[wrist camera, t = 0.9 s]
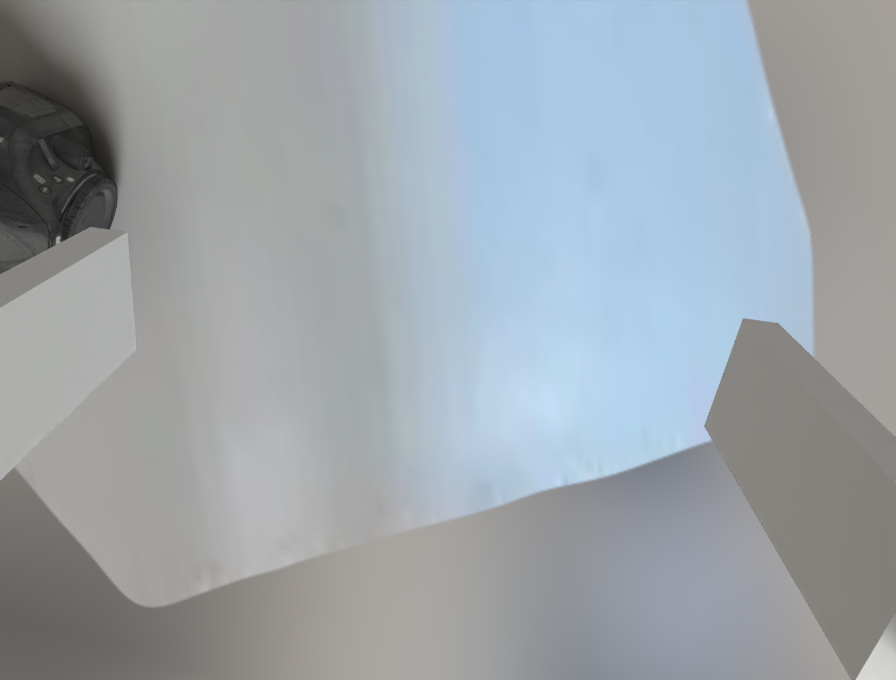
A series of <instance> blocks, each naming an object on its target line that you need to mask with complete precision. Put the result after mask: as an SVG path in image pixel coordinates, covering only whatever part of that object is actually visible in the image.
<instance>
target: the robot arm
mask: <svg viewBox="0 0 896 680" xmlns="http://www.w3.org/2000/svg"><path fill="white" fill-rule="evenodd" d="M135 350H136V337H135V324H134V311H133V298H132V285H131V271H130V258H129V245H128V232H123V231H116V230H109V229H102V228H94V227H90V228H88V229H86V230H84V231H82V232H80V233H78V234H76V235H74V236H72V237H70V238H69V239H67V240H65V241H63V242H61V243H59V244H57V245H55V246H53V247H51V248H50V249H48V250H46V251H44V252H42V253H40V254H38V255H36V256H34V257H32V258H30V259H29V260H27V261H25V262H23V263H21V264H19V265H17V266H15V267H13V268H11V269H10V270H8V271H6V272H4V273H2V274H0V480H1V479H2V478H3V477H4V476H5V475H6V474H7V473H8V472H9V471H10V470H11V469H13V468H14V467H15V466H16V465H17V464H18V463H19V462H20V461H21V460H22V459H23V458H24V457H25V456H26V455H27V454H28V453H29V452H30V451H31V450H32V449H33V448H34V447H35V446H36V445H38V444H39V443H40V442H41V441H42V440H43V439H44V438H45V437H46V436H47V435H48V434H49V433H50V432H51V431H52V430H53V429H54V428H55V427H56V426H57V425H58V424H59V423H60V422H61V421H63V420H64V419H65V418H66V417H67V416H68V415H69V414H70V413H71V412H72V411H73V410H74V409H75V408H76V407H77V406H78V405H79V404H80V403H81V402H82V401H83V400H84V399H85V398H86V397H87V396H89V395H90V394H91V393H92V392H93V391H94V390H95V389H96V388H97V387H98V386H99V385H100V384H101V383H102V382H103V381H104V380H105V379H106V378H107V377H108V376H109V375H110V374H111V373H112V372H114V371H115V370H116V369H117V368H118V367H119V366H120V365H121V364H122V363H123V362H124V361H125V360H126V359H127V358H128V357H129V356H130V355H131V354H132V353H133V352H134V351H135ZM704 427H705V428H706V430H707V432H708V433H709V435H710V437H711V439H712V440H713V442H714V444H715V445H716V447H717V449H718V451H719V452H720V454H721V456H722V458H723V459H724V461H725V463H726V464H727V466H728V468H729V470H730V471H731V473H732V475H733V476H734V478H735V480H736V482H737V483H738V485H739V487H740V488H741V490H742V492H743V494H744V496H745V497H746V499H747V501H748V502H749V504H750V506H751V507H752V509H753V511H754V513H755V515H756V516H757V518H758V520H759V521H760V523H761V525H762V526H763V528H764V530H765V532H766V533H767V535H768V537H769V539H770V540H771V542H772V544H773V546H774V547H775V549H776V551H777V552H778V554H779V556H780V558H781V559H782V561H783V563H784V565H785V566H786V568H787V570H788V571H789V573H790V575H791V577H792V578H793V580H794V582H795V584H796V585H797V587H798V589H799V590H800V592H801V594H802V596H803V597H804V599H805V601H806V603H807V604H808V606H809V607H810V609H811V611H812V613H813V614H814V616H815V618H816V620H817V621H818V623H819V625H820V627H821V628H822V630H823V632H824V633H825V635H826V637H827V639H828V641H829V642H830V644H831V646H832V647H833V649H834V651H835V653H836V654H837V656H838V658H839V659H840V661H841V663H842V665H843V666H844V668H845V670H846V671H847V673H848V675H849V677H850V678H851V680H896V437H895V436H894V435H892V433H891V432H889V431H888V430H887V429H886V428H885V427H884V426H883V425H882V424H881V423H880V422H879V421H878V420H877V419H876V418H875V417H874V416H873V415H872V414H871V413H870V412H869V411H868V410H867V409H866V408H865V407H864V406H863V405H862V404H861V403H860V402H859V401H857V399H855V398H854V397H853V396H852V395H851V394H850V393H849V392H848V391H847V390H846V389H845V388H844V387H843V386H842V385H841V384H840V383H839V382H838V381H837V380H836V379H835V378H834V377H833V376H832V375H831V374H830V373H829V372H828V371H827V370H826V369H824V367H822V366H821V364H820V363H818V362H817V361H816V360H815V359H814V358H813V357H812V356H811V355H810V354H809V353H808V352H807V351H806V350H805V349H804V348H803V347H802V346H801V345H800V344H799V343H798V342H797V341H796V340H795V339H794V338H793V337H792V336H791V335H790V334H789V333H788V332H787V331H786V330H785V329H783V328H782V327H781V326H780V325H779V324H778V323H772V322H765V321H758V320H751V319H744V318H743V320H742V323H741V326H740V329H739V331H738V334H737V337H736V340H735V343H734V345H733V348H732V351H731V354H730V356H729V359H728V362H727V365H726V367H725V370H724V373H723V376H722V379H721V381H720V384H719V387H718V390H717V392H716V395H715V398H714V401H713V404H712V406H711V409H710V412H709V415H708V417H707V420H706V423H705V426H704Z"/></svg>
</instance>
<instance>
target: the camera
mask: <svg viewBox="0 0 896 680" xmlns="http://www.w3.org/2000/svg"><path fill="white" fill-rule="evenodd" d="M91 149H92V141H91V138H90V135H89V132H88V129H87V127H86V126H85V124H84V123H83V122H82V120H81V119H80V118H79V117H78V116H77V115H76V114H75V113H74V112H72V111H71V110H70V109H68V108H67V107H65V106H63V105H61V104H59V103H57V102H55V101H53V100H51V99H49V98H47V97H45V96H43V95H41V94H39V93H37V92H35V91H33V90H30V89H28V88H25V87H23V86H21V85H19V84H16V83H14V82H12V81H3V82H0V274H2V273H4V272H6V271H8V270H10V269H11V268H13V267H15V266H17V265H19V264H21V263H23V262H25V261H27V260H29V259H30V258H32V257H34V256H36V255H38V254H40V253H42V252H44V251H46V250H48V249H50V248H51V247H53V246H55V245H57V244H59V243H61V242H63V241H65V240H67V239H69V238H70V237H72V236H74V235H76V234H78V233H80V232H82V231H84V230H86V229H88V228H90V227H94V228H102V229H109V230H110V227H111V224H112V221H113V218H114V215H115V211H116V208H117V186H116V184H115V182H114V181H113V180H111V179H110V178H108V177H107V176H106V173H105V172H104V171H103V169H102V168H101V167H100V166H99V165H98V164H97V163H96V162H95V161H94V160H93V158H94V157H92V154H91Z"/></svg>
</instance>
